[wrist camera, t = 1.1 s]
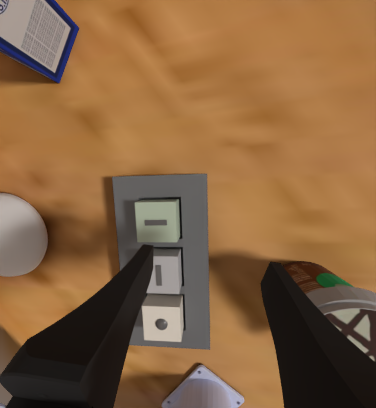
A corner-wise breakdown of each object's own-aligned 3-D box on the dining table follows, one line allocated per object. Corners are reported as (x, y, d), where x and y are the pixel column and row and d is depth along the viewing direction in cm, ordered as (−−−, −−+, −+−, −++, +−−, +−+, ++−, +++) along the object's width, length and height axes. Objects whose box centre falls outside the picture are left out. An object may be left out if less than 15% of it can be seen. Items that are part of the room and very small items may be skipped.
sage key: (180, 235, 24) (176, 242, 21) (144, 235, 24) (137, 242, 22) (178, 199, 23) (175, 201, 21) (142, 199, 24) (134, 202, 21)
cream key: (183, 326, 26) (181, 342, 23) (150, 325, 26) (144, 340, 24) (182, 294, 25) (179, 307, 22) (148, 293, 25) (141, 306, 23)
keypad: (209, 335, 28) (210, 349, 25) (132, 331, 29) (126, 344, 26) (206, 173, 24) (206, 173, 22) (120, 176, 26) (112, 176, 23)
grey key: (182, 282, 25) (179, 294, 22) (147, 281, 25) (140, 293, 23) (180, 248, 24) (177, 256, 22) (145, 248, 25) (138, 256, 22)
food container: (369, 312, 25) (474, 401, 15) (323, 334, 26) (394, 431, 16) (317, 232, 24) (392, 271, 14) (272, 258, 25) (313, 311, 15)
